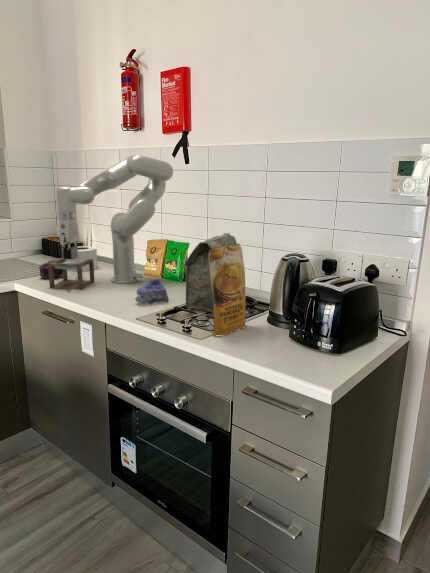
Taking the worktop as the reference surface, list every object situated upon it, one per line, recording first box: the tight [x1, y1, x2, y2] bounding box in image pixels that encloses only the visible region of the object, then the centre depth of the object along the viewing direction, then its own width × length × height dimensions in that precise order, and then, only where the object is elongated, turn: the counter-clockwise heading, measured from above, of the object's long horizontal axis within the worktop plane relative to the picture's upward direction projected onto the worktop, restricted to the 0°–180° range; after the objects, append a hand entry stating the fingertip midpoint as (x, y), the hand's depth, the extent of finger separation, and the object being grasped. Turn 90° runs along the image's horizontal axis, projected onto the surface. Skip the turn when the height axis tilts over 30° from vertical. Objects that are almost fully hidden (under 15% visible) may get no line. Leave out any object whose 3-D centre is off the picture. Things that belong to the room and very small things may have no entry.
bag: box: [184, 232, 238, 314], centre depth 169 cm, size 22×16×27 cm
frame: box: [48, 257, 95, 291], centre depth 196 cm, size 14×14×11 cm
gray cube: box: [61, 245, 79, 260], centre depth 192 cm, size 5×5×5 cm
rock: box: [38, 258, 63, 280], centre depth 210 cm, size 12×9×10 cm
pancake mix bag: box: [208, 243, 246, 337], centre depth 141 cm, size 7×19×28 cm, turn 138°
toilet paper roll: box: [66, 245, 99, 272], centre depth 230 cm, size 16×15×11 cm
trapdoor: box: [55, 260, 88, 270], centre depth 195 cm, size 10×11×1 cm
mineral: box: [134, 278, 170, 305], centre depth 173 cm, size 14×10×10 cm
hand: (70, 257), depth 193 cm, fingers closed on gray cube, 5 cm apart
